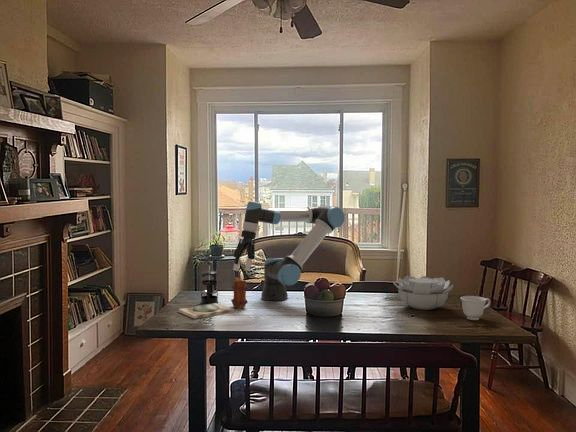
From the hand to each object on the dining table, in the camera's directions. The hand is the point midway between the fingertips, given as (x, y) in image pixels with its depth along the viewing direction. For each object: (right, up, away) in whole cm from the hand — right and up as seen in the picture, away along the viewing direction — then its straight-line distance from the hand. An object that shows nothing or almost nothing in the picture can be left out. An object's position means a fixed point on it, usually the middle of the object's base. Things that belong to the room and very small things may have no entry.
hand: (241, 270), depth 262 cm
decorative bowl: (+95, -20, +4) cm, 98 cm away
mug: (-2, -20, +4) cm, 20 cm away
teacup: (+116, -22, -18) cm, 119 cm away
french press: (-19, -19, +13) cm, 30 cm away
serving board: (-17, -20, -8) cm, 28 cm away
